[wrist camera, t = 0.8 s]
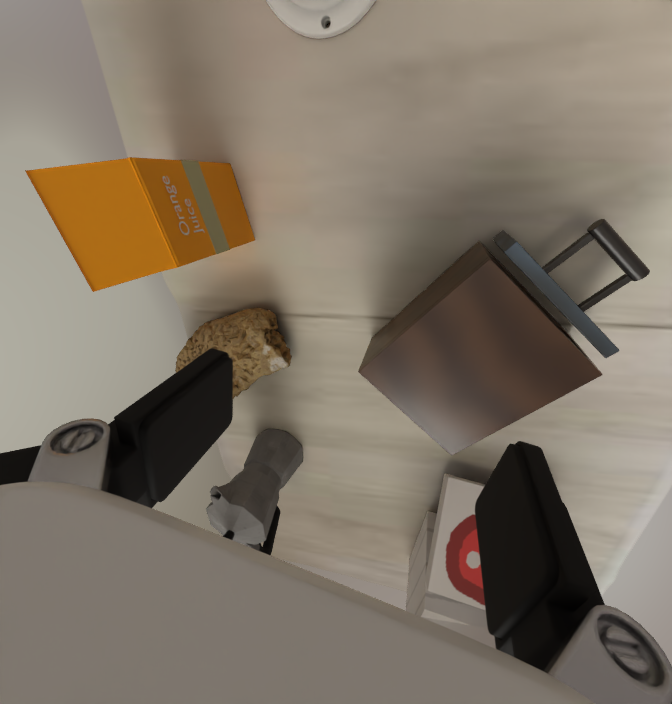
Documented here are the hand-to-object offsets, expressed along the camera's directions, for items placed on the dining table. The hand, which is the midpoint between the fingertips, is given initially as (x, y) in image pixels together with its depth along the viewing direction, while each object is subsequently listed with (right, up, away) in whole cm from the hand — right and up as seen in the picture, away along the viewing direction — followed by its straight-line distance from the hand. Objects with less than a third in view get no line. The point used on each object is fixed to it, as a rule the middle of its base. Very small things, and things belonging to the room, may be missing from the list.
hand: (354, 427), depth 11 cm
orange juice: (-15, +20, +30) cm, 39 cm away
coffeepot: (-10, -15, +48) cm, 51 cm away
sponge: (-16, +3, +40) cm, 43 cm away
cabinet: (+15, +4, +29) cm, 33 cm away
